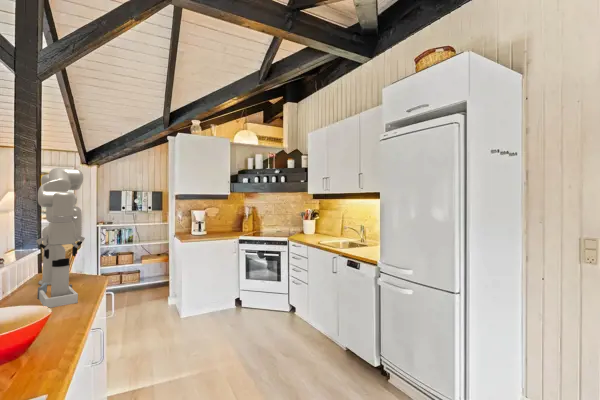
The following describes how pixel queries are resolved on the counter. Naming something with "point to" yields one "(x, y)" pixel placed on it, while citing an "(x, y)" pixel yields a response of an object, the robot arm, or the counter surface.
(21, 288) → the counter surface
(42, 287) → the cover gate
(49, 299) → the grey rectangular frame
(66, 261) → the travel mug
